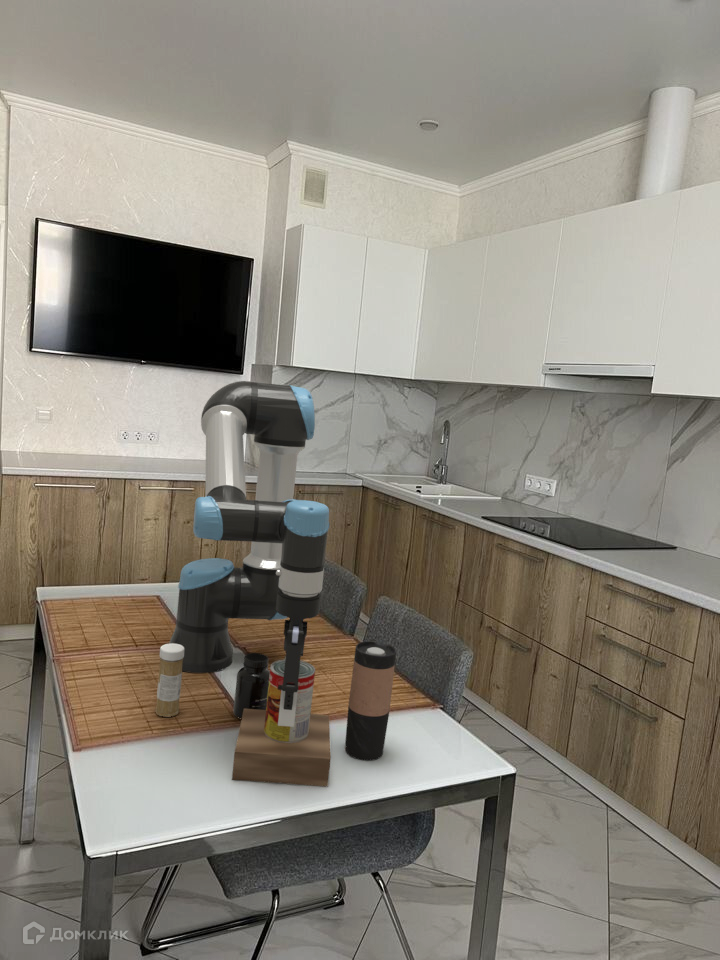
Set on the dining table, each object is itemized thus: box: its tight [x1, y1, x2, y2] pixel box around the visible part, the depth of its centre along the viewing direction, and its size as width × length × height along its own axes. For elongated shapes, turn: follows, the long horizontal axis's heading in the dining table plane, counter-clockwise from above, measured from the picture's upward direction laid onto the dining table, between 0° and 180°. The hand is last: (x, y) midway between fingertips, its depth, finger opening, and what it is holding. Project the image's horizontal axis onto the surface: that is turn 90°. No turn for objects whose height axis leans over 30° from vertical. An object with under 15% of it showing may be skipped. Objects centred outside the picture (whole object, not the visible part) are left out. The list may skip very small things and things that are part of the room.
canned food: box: [264, 658, 316, 743], centre depth 131 cm, size 8×8×12 cm
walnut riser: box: [231, 709, 332, 787], centre depth 132 cm, size 16×16×5 cm
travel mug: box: [344, 640, 397, 761], centre depth 137 cm, size 8×8×20 cm
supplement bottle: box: [232, 652, 270, 720], centre depth 147 cm, size 7×7×12 cm
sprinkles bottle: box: [154, 643, 184, 718], centre depth 143 cm, size 5×5×13 cm
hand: (287, 707), depth 131 cm, fingers open, 13 cm apart
